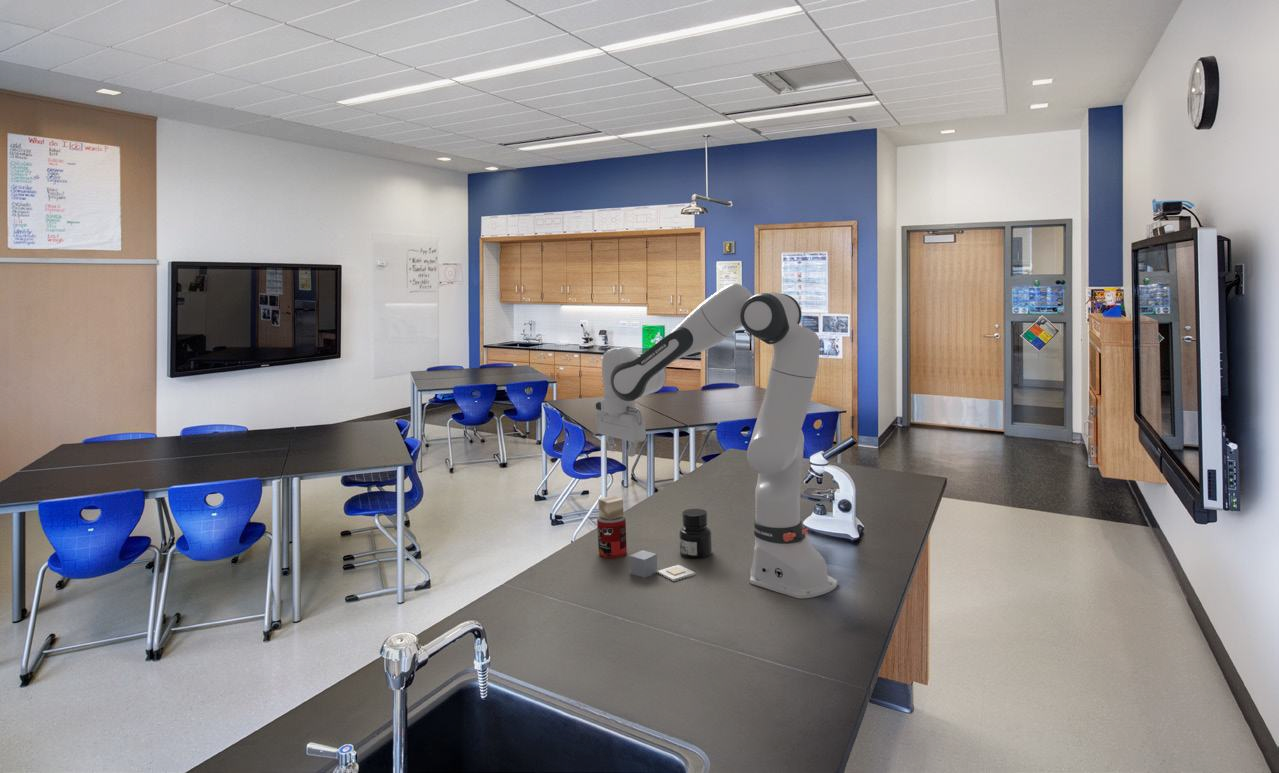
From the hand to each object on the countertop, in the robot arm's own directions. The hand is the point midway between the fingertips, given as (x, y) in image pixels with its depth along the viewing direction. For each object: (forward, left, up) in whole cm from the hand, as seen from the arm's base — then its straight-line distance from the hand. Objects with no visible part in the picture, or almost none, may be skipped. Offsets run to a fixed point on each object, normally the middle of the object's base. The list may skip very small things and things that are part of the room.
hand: (621, 453), depth 201 cm
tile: (-24, 0, -28) cm, 37 cm away
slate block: (-18, +6, -28) cm, 34 cm away
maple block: (-1, +5, -17) cm, 18 cm away
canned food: (-1, +5, -28) cm, 29 cm away
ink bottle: (-16, -13, -28) cm, 35 cm away
